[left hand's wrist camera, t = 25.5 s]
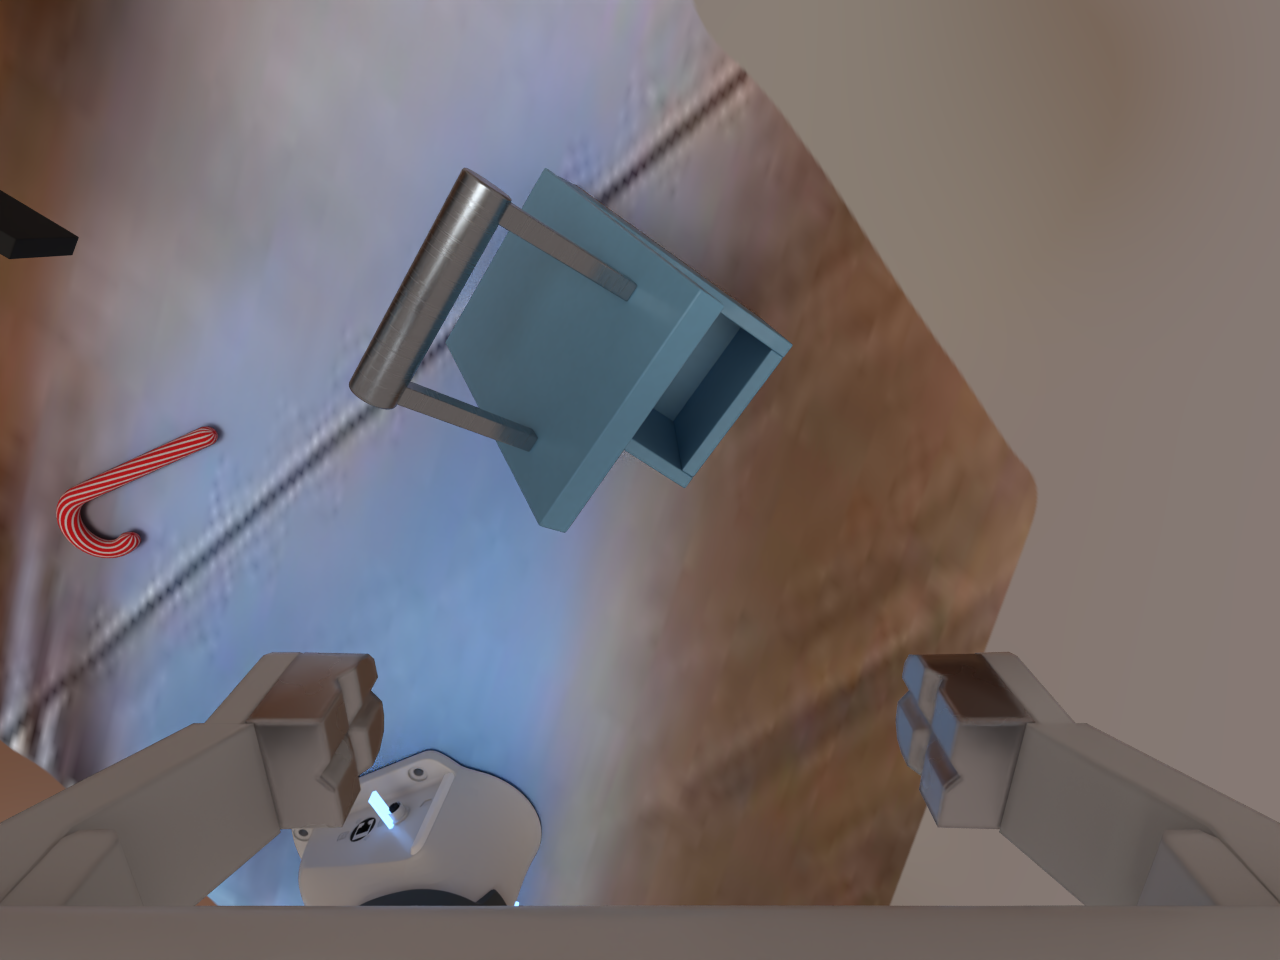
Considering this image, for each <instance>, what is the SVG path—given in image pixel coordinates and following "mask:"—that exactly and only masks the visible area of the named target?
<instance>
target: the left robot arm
mask: <svg viewBox="0 0 1280 960" xmlns="http://www.w3.org/2000/svg"><path fill="white" fill-rule="evenodd" d="M377 678H378V675H377V671H376V666H375V661H374V659H373V658H372V657H371V656H370V655H369V654H352V653H306V652H305V653H300V652H272V653H269V654H266V655H263V657H262V658H261V659H260V660H259V661H258V662H257V663H256V664H255V666H254V667H253V668H252V669H251V670H250V671H249V672H248V674H247V675H246V676H245V677H244V678H243V679H242V681H241V682H240V683H239V684H238V685H237V686H236V687H235V689H234V690H233V691H232V692H231V693H230V694H229V695H228V697H227V698H226V699H225V700H224V701H223V702H222V704H221V705H220V706H219V707H218V708H217V709H216V710H215V712H214V713H213V714H212V715H211V716H210V717H209V718H208V720H207V721H206V722H205V723H193V724H191V725H189V726H187V727H185V728H184V729H182V730H180V731H178V732H176V733H174V734H172V735H170V736H168V737H166V738H164V739H162V740H160V741H158V742H156V743H154V744H152V745H151V746H149V747H147V748H145V749H143V750H141V751H139V752H137V753H135V754H133V755H131V756H129V757H127V758H125V759H123V760H121V761H119V762H117V763H116V764H114V765H112V766H110V767H108V768H106V769H104V770H102V771H100V772H98V773H96V774H94V775H92V776H90V777H88V778H86V779H84V780H82V781H81V782H79V783H77V784H75V785H73V786H71V787H69V788H67V789H65V790H63V791H61V792H59V793H57V794H55V795H53V796H51V797H49V798H47V799H46V800H44V801H42V802H40V803H38V804H36V805H34V806H32V807H30V808H28V809H26V810H24V811H22V812H20V813H18V814H16V815H15V816H12V817H11V818H9V819H7V820H5V821H3V822H1V823H0V960H1280V823H1279V822H1277V821H1275V820H1273V819H1271V818H1269V817H1267V816H1265V815H1263V814H1261V813H1259V812H1257V811H1255V810H1253V809H1252V808H1250V807H1248V806H1246V805H1244V804H1242V803H1240V802H1238V801H1236V800H1234V799H1232V798H1230V797H1228V796H1226V795H1224V794H1222V793H1220V792H1218V791H1217V790H1215V789H1213V788H1211V787H1209V786H1207V785H1205V784H1203V783H1201V782H1199V781H1197V780H1195V779H1193V778H1191V777H1189V776H1188V775H1186V774H1184V773H1182V772H1180V771H1178V770H1176V769H1174V768H1172V767H1170V766H1168V765H1166V764H1164V763H1162V762H1160V761H1158V760H1156V759H1155V758H1153V757H1151V756H1149V755H1147V754H1145V753H1143V752H1141V751H1139V750H1137V749H1135V748H1133V747H1131V746H1129V745H1127V744H1125V743H1124V742H1122V741H1120V740H1118V739H1116V738H1114V737H1112V736H1110V735H1108V734H1106V733H1104V732H1102V731H1100V730H1098V729H1096V728H1094V727H1093V726H1091V725H1089V724H1086V723H1075V722H1074V721H1073V720H1072V718H1071V717H1070V716H1069V715H1068V714H1067V713H1066V712H1065V710H1064V709H1063V708H1062V707H1061V706H1060V705H1059V704H1058V702H1057V701H1056V700H1055V699H1054V698H1053V697H1052V695H1051V694H1050V693H1049V692H1048V691H1047V690H1046V689H1045V687H1044V686H1043V685H1042V684H1041V683H1040V682H1039V681H1038V679H1037V678H1036V677H1035V676H1034V675H1033V674H1032V673H1031V671H1030V670H1029V669H1028V668H1027V667H1026V666H1025V664H1024V663H1023V662H1022V661H1021V660H1020V659H1019V658H1018V657H1017V656H1016V655H1014V654H1012V653H1010V652H991V653H975V654H920V655H909V656H908V658H907V660H906V662H905V664H904V670H903V675H902V678H903V680H904V682H905V683H906V685H907V687H908V689H909V691H908V692H907V693H906V694H905V695H904V696H903V697H902V698H901V699H900V700H899V701H898V706H897V714H896V729H897V739H898V743H899V746H900V750H901V753H902V755H903V757H904V759H905V761H906V764H907V766H909V767H910V768H911V769H913V770H914V771H915V772H917V773H918V774H920V775H921V782H920V788H919V790H920V792H921V794H922V796H923V798H924V800H925V802H926V804H927V806H928V808H929V810H930V812H931V814H932V816H933V818H934V820H935V822H936V825H937V826H938V827H943V828H978V829H1000V831H999V832H1000V833H1001V834H1002V835H1003V836H1004V837H1006V838H1007V839H1008V840H1009V841H1010V842H1011V843H1013V844H1014V845H1015V846H1016V847H1017V848H1018V849H1020V850H1021V851H1022V852H1023V853H1024V854H1025V855H1027V856H1028V857H1029V858H1030V859H1031V860H1032V861H1034V862H1035V863H1036V864H1037V865H1038V866H1040V867H1041V868H1042V869H1043V870H1044V871H1045V872H1047V873H1048V874H1049V875H1050V876H1051V877H1052V878H1054V879H1055V880H1056V881H1057V882H1058V883H1059V884H1061V885H1062V886H1063V887H1064V888H1065V889H1066V890H1068V891H1069V892H1070V893H1071V894H1072V895H1073V896H1075V897H1076V898H1077V899H1078V900H1079V901H1080V902H1082V903H1083V904H1084V905H1085V906H519V902H516V900H517V897H518V894H519V891H520V888H521V886H522V883H523V880H524V878H525V875H526V873H527V871H528V869H529V866H530V864H531V862H532V860H533V859H534V857H535V855H536V853H537V851H538V849H539V846H540V842H541V825H540V821H539V818H538V815H537V813H536V811H535V809H534V807H533V806H532V804H531V803H530V802H529V801H528V799H527V798H526V797H525V796H524V795H523V794H522V793H521V792H520V791H518V790H517V789H516V788H514V787H513V786H512V785H510V784H509V783H507V782H505V781H503V780H501V779H499V778H497V777H495V776H492V775H490V774H486V773H483V772H480V771H476V770H472V769H469V768H466V767H463V766H461V765H459V764H458V763H456V762H455V761H453V760H452V759H450V758H449V757H447V756H445V755H444V754H442V753H440V752H437V751H433V750H428V751H424V752H421V753H419V754H416V755H414V756H411V757H409V758H406V759H404V760H401V761H399V762H397V763H394V764H392V765H389V766H387V767H384V768H382V769H379V770H377V771H374V772H372V773H369V774H367V775H364V776H362V777H359V775H360V774H362V773H363V772H365V771H366V770H367V769H369V768H370V767H371V766H373V764H374V761H375V759H376V757H377V755H378V753H379V751H380V746H381V741H382V737H383V732H384V712H383V705H382V701H381V700H380V699H379V698H378V697H377V696H376V695H375V694H374V693H373V692H372V691H371V689H372V687H373V685H374V683H375V682H376V680H377ZM418 768H419V769H418ZM420 769H422V770H420ZM280 829H292V834H293V839H294V843H295V846H296V848H297V851H298V853H299V856H300V858H301V863H300V867H299V876H298V882H299V889H300V893H301V897H302V900H303V902H304V905H305V906H195V905H196V904H197V903H199V902H200V901H201V900H202V899H203V898H204V897H206V896H207V895H208V894H209V893H210V892H212V891H213V890H214V889H215V888H216V887H217V886H219V885H220V884H221V883H222V882H223V881H224V880H226V879H227V878H228V877H229V876H230V875H231V874H233V873H234V872H235V871H236V870H237V869H238V868H240V867H241V866H242V865H243V864H244V863H245V862H247V861H248V860H249V859H250V858H251V857H252V856H254V855H255V854H256V853H257V852H258V851H260V850H261V849H262V848H263V847H264V846H265V845H267V844H268V843H269V842H270V841H271V840H272V839H274V838H275V837H276V836H277V835H278V834H279V833H280V832H281V831H280Z"/></svg>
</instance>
